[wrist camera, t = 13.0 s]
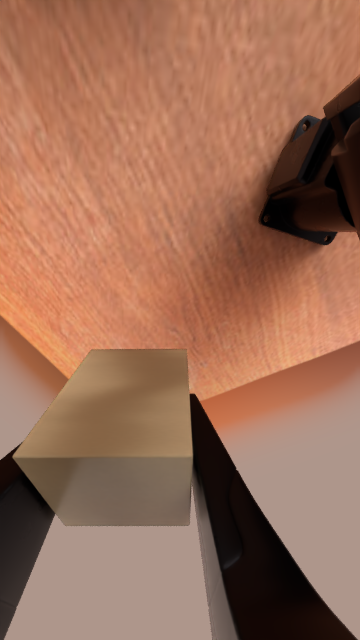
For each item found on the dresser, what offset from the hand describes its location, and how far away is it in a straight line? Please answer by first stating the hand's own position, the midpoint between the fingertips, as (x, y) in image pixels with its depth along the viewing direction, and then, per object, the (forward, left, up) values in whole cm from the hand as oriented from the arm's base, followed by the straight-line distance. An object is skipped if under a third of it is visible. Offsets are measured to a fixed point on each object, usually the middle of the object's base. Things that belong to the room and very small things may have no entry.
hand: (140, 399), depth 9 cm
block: (0, 0, -1) cm, 1 cm away
